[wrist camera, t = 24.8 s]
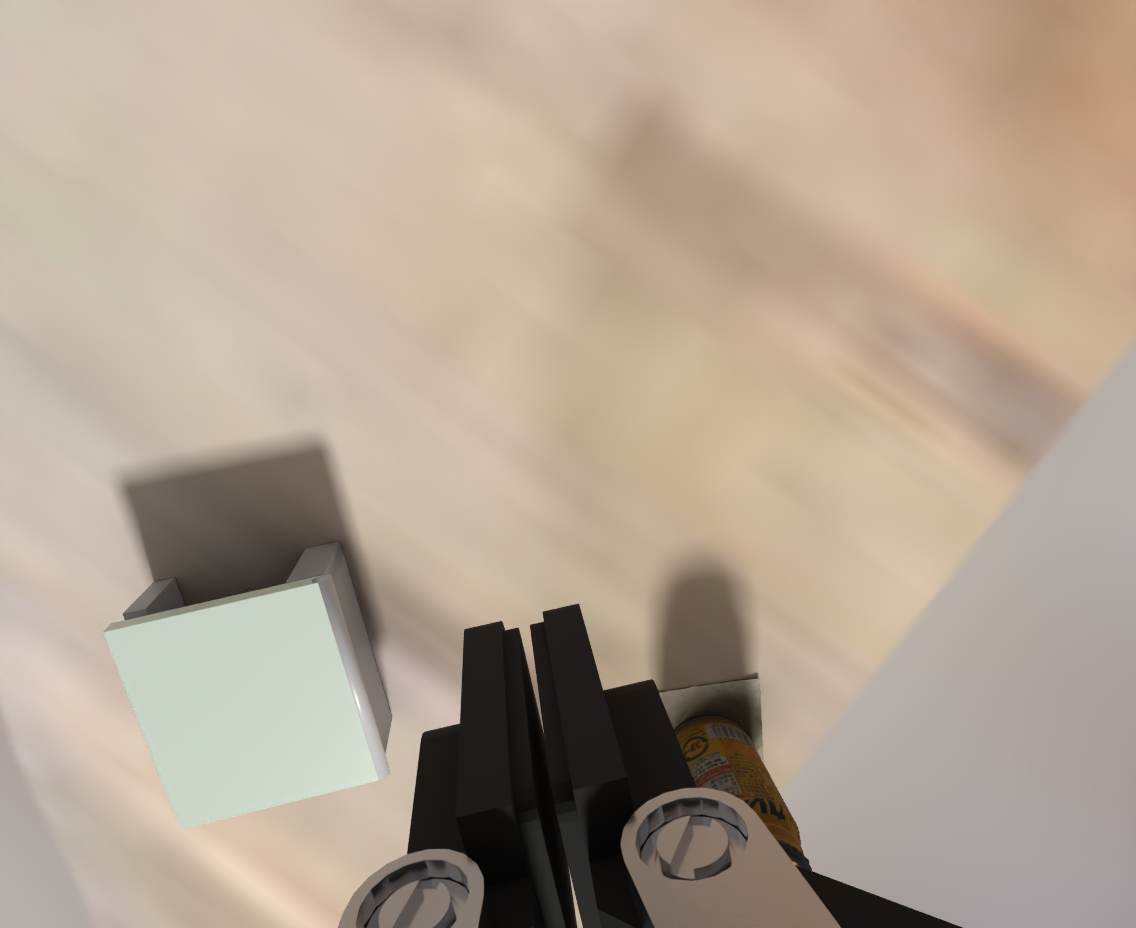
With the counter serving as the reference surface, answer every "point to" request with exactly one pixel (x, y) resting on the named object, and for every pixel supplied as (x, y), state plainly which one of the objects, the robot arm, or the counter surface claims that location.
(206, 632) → the lid
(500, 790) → the robot arm
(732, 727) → the condiment
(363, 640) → the grey u-shaped block
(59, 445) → the counter surface
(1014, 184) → the counter surface
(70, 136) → the counter surface
